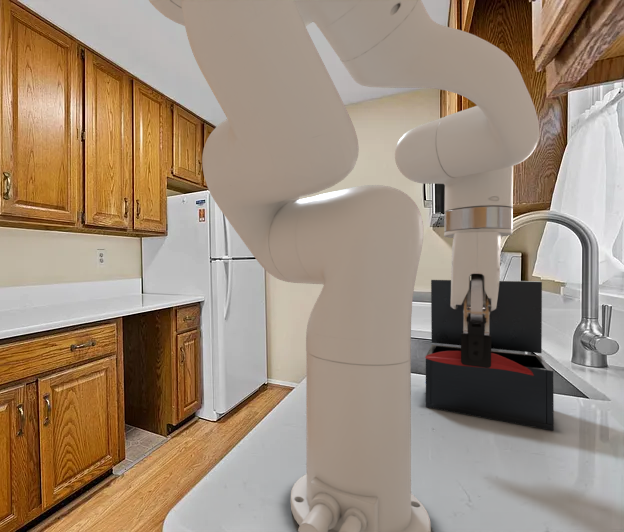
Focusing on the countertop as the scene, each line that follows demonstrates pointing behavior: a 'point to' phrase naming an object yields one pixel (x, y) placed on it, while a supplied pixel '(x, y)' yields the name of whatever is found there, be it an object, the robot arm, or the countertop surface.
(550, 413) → the bin
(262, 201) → the robot arm
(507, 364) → the cayenne pepper
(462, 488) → the countertop surface
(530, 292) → the bin lid
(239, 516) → the countertop surface
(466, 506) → the countertop surface
